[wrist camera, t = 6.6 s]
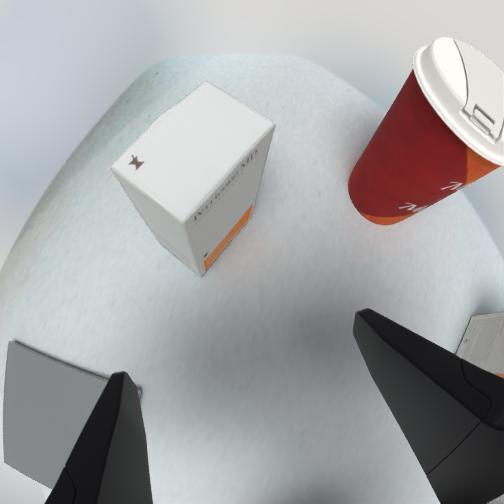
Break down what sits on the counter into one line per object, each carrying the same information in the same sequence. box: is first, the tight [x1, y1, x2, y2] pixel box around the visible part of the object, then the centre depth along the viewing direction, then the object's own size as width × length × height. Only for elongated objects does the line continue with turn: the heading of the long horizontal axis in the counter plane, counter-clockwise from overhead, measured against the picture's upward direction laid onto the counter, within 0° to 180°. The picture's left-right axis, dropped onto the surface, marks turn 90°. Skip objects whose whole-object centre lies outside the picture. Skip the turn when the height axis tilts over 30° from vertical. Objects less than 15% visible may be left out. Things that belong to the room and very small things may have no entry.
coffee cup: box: [348, 37, 504, 225], centre depth 18 cm, size 8×8×15 cm
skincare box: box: [110, 81, 276, 277], centre depth 18 cm, size 6×4×12 cm
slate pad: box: [3, 341, 142, 489], centre depth 18 cm, size 12×12×1 cm
